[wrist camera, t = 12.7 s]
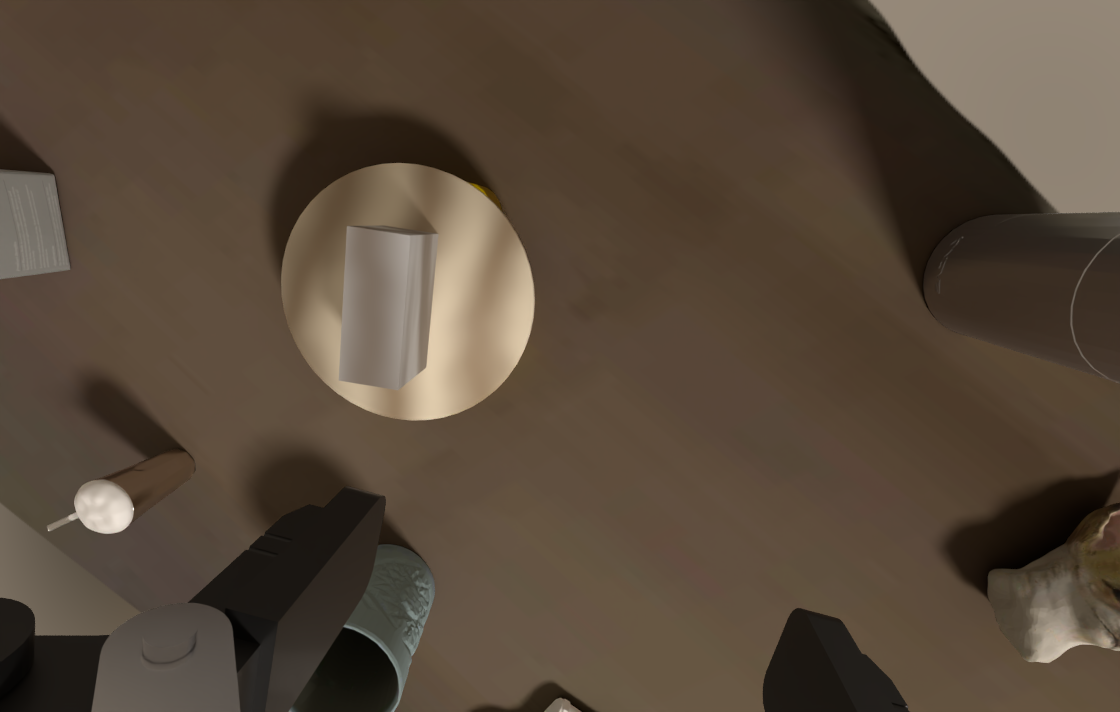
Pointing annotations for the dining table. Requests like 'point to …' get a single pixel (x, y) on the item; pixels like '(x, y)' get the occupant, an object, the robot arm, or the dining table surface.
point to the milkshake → (129, 492)
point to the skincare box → (30, 225)
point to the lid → (408, 291)
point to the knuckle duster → (561, 706)
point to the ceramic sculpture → (1064, 593)
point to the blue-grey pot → (374, 640)
